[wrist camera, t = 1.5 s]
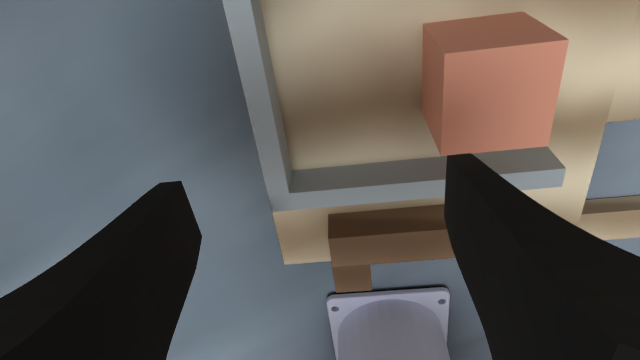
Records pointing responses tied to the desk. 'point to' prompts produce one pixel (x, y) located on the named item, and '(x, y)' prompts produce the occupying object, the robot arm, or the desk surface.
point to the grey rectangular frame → (349, 180)
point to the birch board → (406, 98)
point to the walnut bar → (384, 241)
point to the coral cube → (491, 82)
